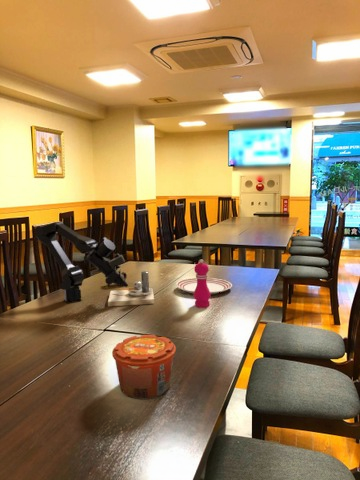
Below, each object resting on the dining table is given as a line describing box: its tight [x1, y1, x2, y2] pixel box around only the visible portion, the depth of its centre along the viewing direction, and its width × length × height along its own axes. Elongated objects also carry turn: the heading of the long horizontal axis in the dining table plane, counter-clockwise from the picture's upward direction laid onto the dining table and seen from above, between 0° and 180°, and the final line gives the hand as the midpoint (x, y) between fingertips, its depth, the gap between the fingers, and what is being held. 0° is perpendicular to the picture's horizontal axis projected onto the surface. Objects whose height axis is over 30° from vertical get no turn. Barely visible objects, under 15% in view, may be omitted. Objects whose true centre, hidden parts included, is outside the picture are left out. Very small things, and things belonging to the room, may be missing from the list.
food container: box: [111, 334, 177, 400], centre depth 94 cm, size 16×16×11 cm
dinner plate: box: [175, 277, 233, 295], centre depth 182 cm, size 27×27×3 cm
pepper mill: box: [193, 259, 212, 309], centre depth 156 cm, size 7×7×20 cm
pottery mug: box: [110, 271, 128, 288], centre depth 196 cm, size 12×10×8 cm
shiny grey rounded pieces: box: [118, 270, 150, 297], centre depth 169 cm, size 13×13×11 cm
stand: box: [107, 287, 155, 307], centre depth 170 cm, size 20×18×2 cm
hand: (127, 286), depth 164 cm, fingers closed
